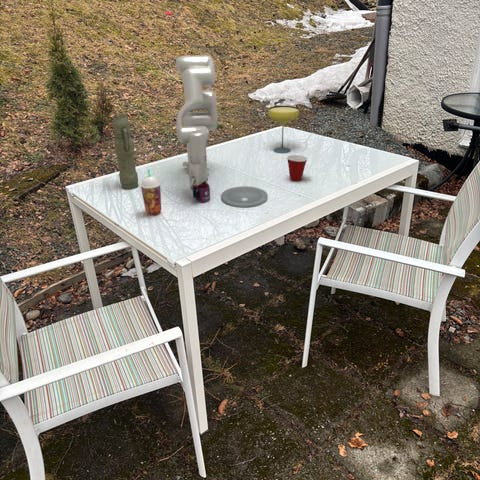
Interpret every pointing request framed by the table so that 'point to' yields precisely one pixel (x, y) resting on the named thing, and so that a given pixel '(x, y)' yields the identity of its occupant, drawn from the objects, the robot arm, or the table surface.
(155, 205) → the smoothie
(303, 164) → the plastic cup
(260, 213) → the table surface
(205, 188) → the cup
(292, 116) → the cocktail glass
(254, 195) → the dish
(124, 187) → the green moai statue
